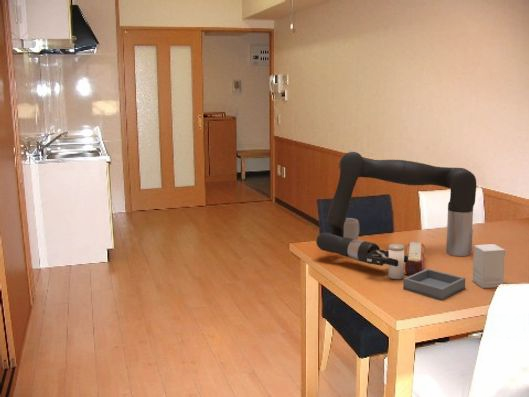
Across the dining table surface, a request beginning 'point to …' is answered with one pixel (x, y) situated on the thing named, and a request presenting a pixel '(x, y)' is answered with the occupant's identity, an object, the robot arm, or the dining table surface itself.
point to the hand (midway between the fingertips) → (402, 261)
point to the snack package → (414, 258)
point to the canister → (398, 253)
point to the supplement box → (488, 265)
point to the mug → (351, 228)
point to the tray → (434, 284)
